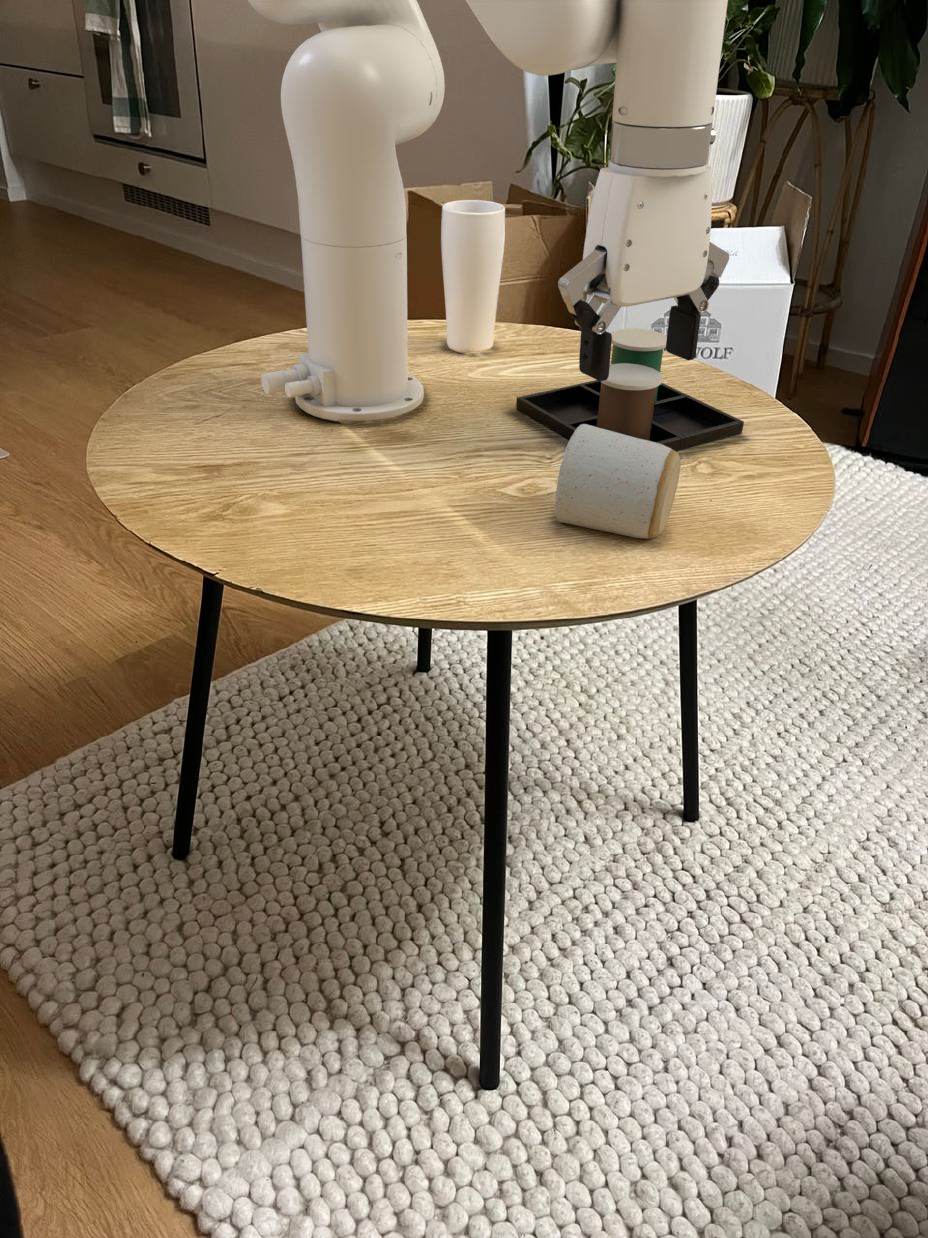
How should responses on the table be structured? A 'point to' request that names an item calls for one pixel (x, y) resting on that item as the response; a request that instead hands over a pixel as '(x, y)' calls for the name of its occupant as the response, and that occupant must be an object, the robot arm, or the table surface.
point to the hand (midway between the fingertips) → (637, 365)
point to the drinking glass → (471, 271)
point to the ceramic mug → (616, 483)
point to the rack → (672, 421)
